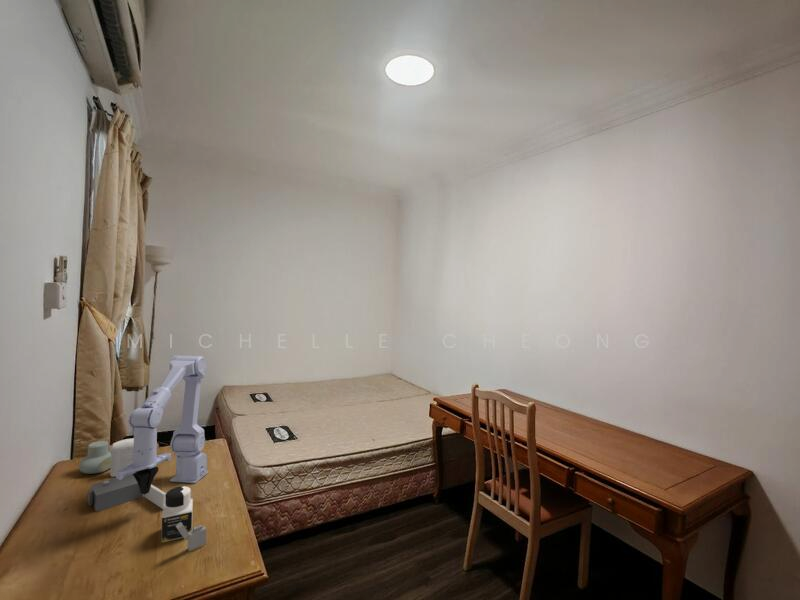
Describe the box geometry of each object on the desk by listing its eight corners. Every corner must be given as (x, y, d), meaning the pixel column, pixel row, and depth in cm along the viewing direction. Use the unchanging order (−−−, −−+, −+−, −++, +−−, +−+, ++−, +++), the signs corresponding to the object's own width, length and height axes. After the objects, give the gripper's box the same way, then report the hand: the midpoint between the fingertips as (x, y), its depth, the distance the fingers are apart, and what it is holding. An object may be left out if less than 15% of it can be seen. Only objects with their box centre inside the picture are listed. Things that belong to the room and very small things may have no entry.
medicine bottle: (161, 543, 101) (162, 499, 101) (163, 528, 107) (164, 486, 107) (191, 536, 104) (192, 493, 104) (192, 521, 111) (193, 481, 110)
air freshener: (102, 462, 146) (102, 436, 145) (120, 465, 144) (121, 439, 144) (73, 476, 135) (73, 448, 135) (92, 478, 133) (92, 450, 133)
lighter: (203, 541, 102) (204, 512, 102) (206, 544, 101) (207, 514, 101) (174, 554, 97) (175, 523, 97) (177, 557, 96) (177, 526, 96)
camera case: (135, 486, 129) (135, 470, 129) (142, 496, 123) (143, 479, 123) (86, 501, 119) (86, 483, 119) (91, 513, 113) (92, 494, 113)
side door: (143, 496, 123) (143, 482, 123) (149, 493, 124) (149, 479, 124) (163, 509, 116) (163, 494, 116) (169, 506, 117) (169, 492, 117)
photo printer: (145, 467, 143) (145, 434, 143) (144, 471, 139) (145, 438, 139) (110, 473, 137) (111, 439, 137) (109, 478, 134) (110, 444, 133)
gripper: (126, 460, 104) (125, 508, 105) (177, 442, 117) (176, 485, 118) (112, 454, 108) (111, 501, 108) (163, 437, 121) (163, 479, 121)
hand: (144, 492), depth 113 cm, fingers closed
